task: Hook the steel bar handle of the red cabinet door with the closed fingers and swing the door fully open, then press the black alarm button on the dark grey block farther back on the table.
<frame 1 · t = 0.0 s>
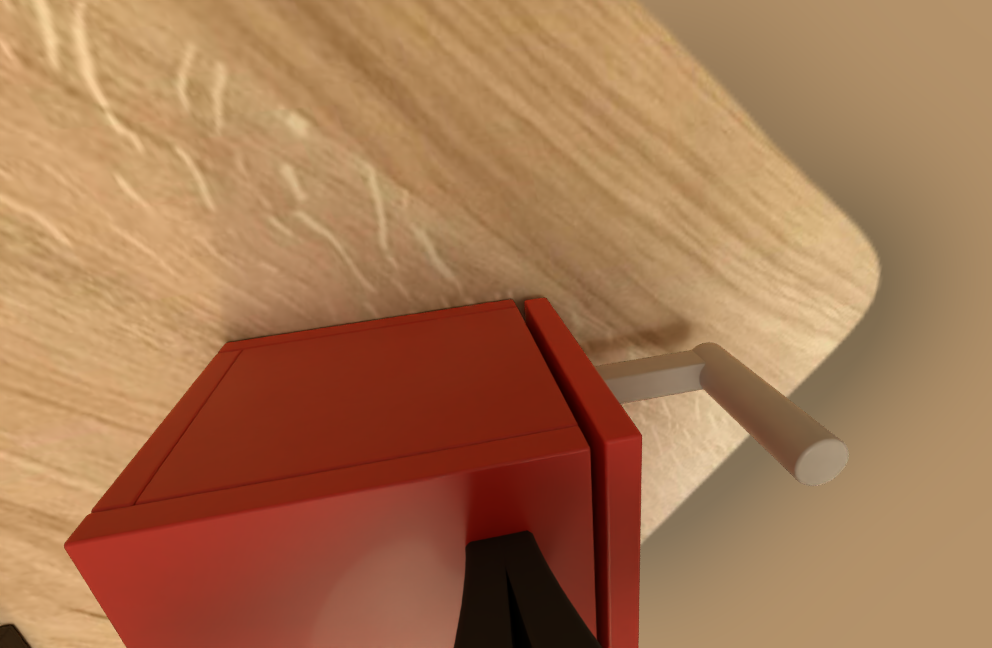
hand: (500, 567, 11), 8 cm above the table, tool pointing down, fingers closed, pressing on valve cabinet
red cabinet door: (661, 476, 16), point 4 cm above the table, hinge at 0.0°
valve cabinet: (399, 440, 19), on the table
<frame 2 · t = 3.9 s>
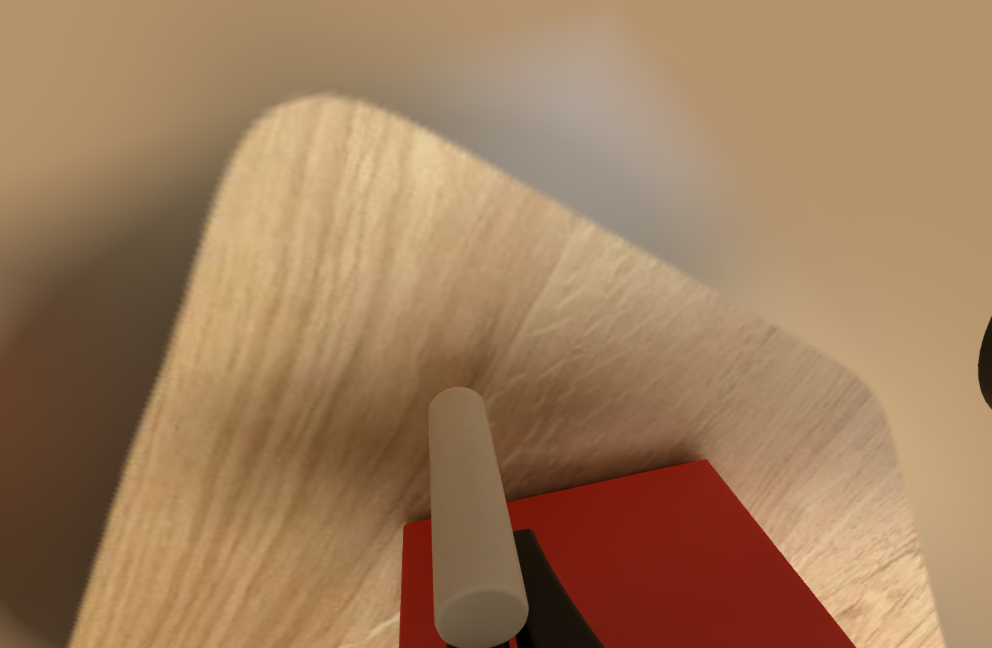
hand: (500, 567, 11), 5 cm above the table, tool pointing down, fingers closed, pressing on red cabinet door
red cabinet door: (591, 534, 11), point 4 cm above the table, hinge at 5.9°, touching gripper
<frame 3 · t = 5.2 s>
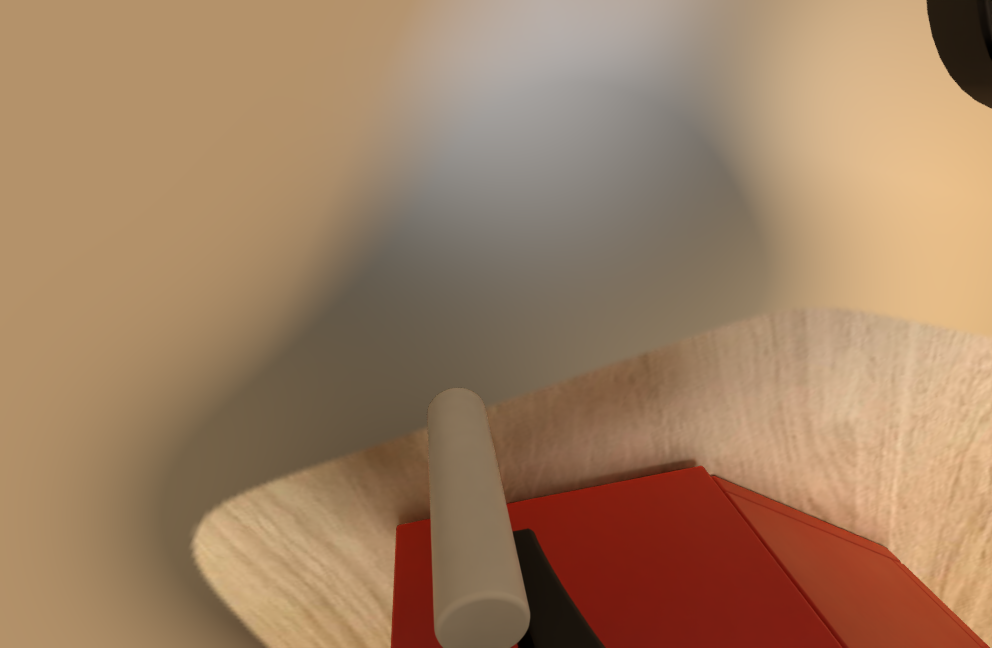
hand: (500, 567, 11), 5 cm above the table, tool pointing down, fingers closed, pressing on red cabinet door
red cabinet door: (589, 540, 11), point 4 cm above the table, hinge at 53.8°, touching gripper
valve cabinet: (721, 601, 20), on the table
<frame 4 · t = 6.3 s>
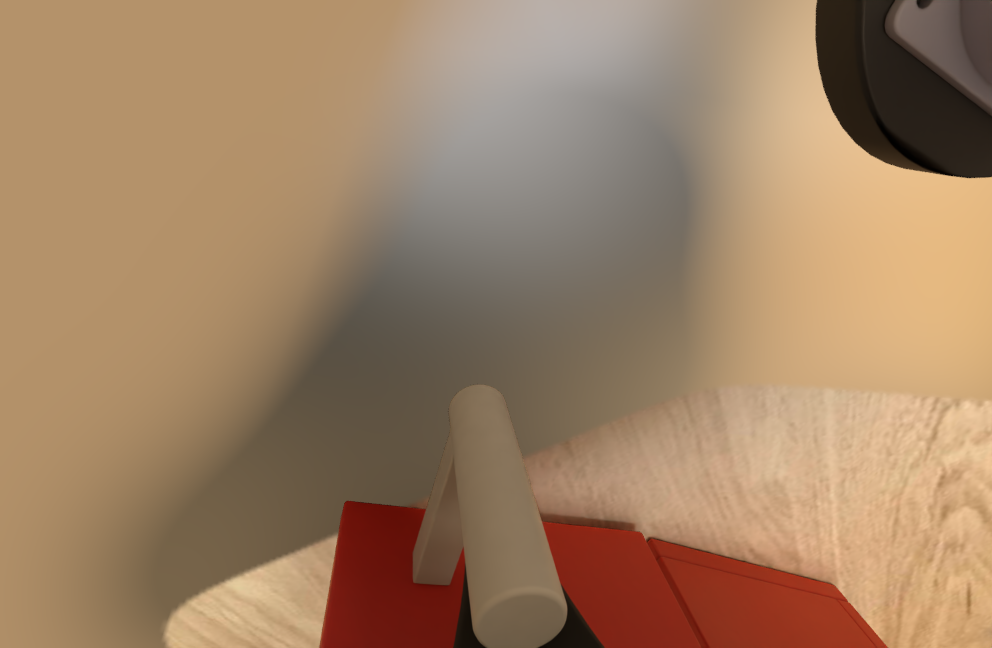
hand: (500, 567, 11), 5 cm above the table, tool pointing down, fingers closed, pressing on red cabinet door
red cabinet door: (563, 570, 12), point 4 cm above the table, hinge at 80.9°, touching gripper
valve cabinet: (679, 645, 21), on the table
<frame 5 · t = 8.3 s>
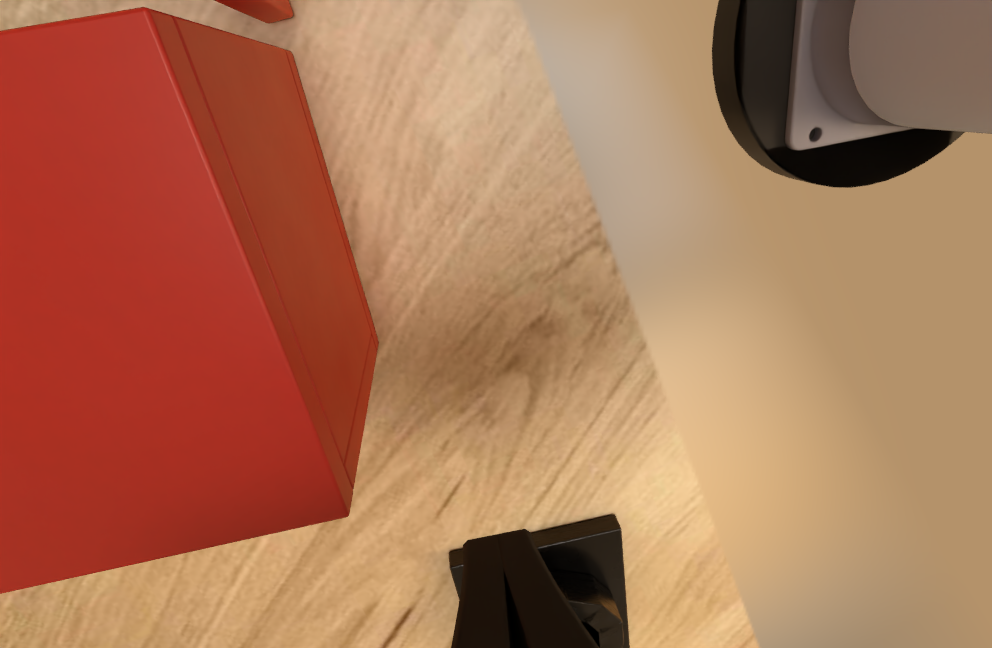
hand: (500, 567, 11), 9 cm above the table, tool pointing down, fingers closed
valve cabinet: (186, 245, 16), on the table
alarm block: (544, 601, 26), on the table
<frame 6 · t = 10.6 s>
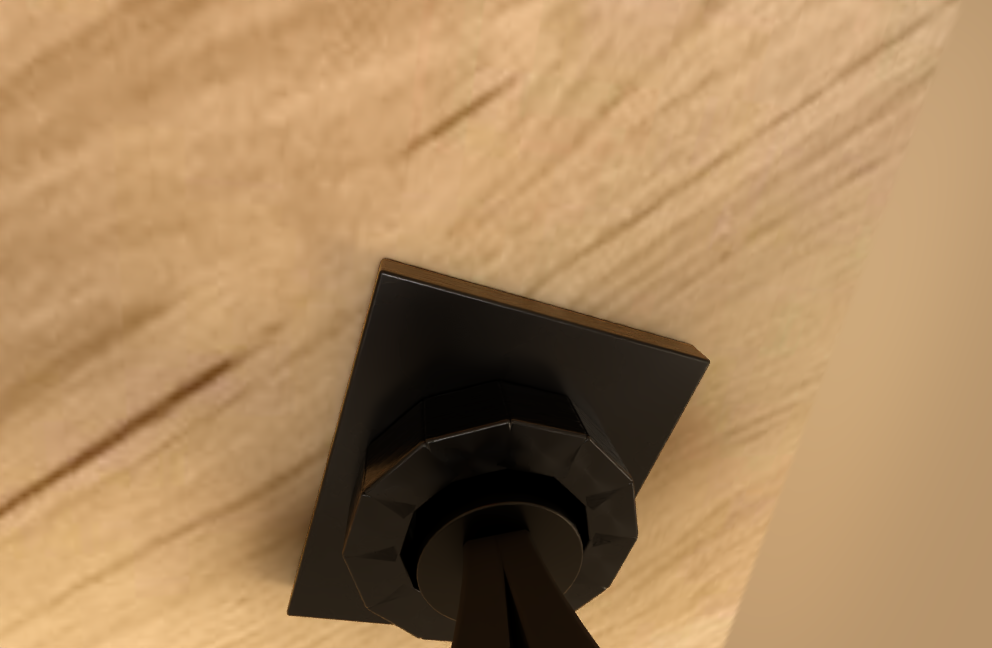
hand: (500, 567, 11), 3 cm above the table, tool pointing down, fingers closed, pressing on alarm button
alarm button: (495, 536, 11), point 2 cm above the table, slide at -0.7 cm, touching gripper
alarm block: (483, 471, 13), on the table
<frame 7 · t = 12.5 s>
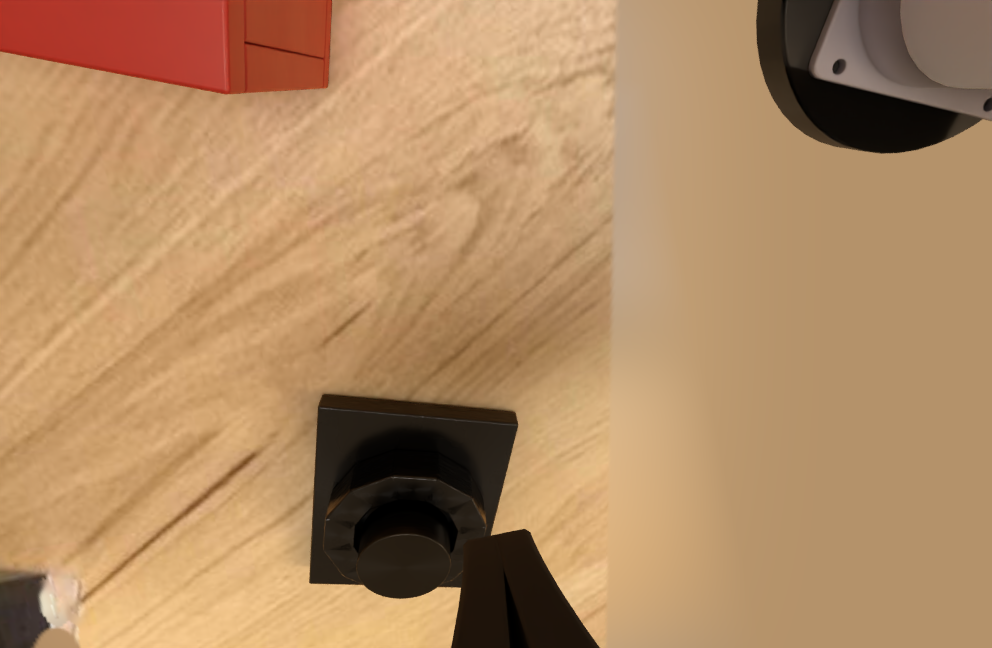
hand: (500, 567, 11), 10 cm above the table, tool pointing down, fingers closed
alarm button: (405, 549, 20), point 3 cm above the table, slide at 0.1 cm
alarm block: (408, 494, 23), on the table
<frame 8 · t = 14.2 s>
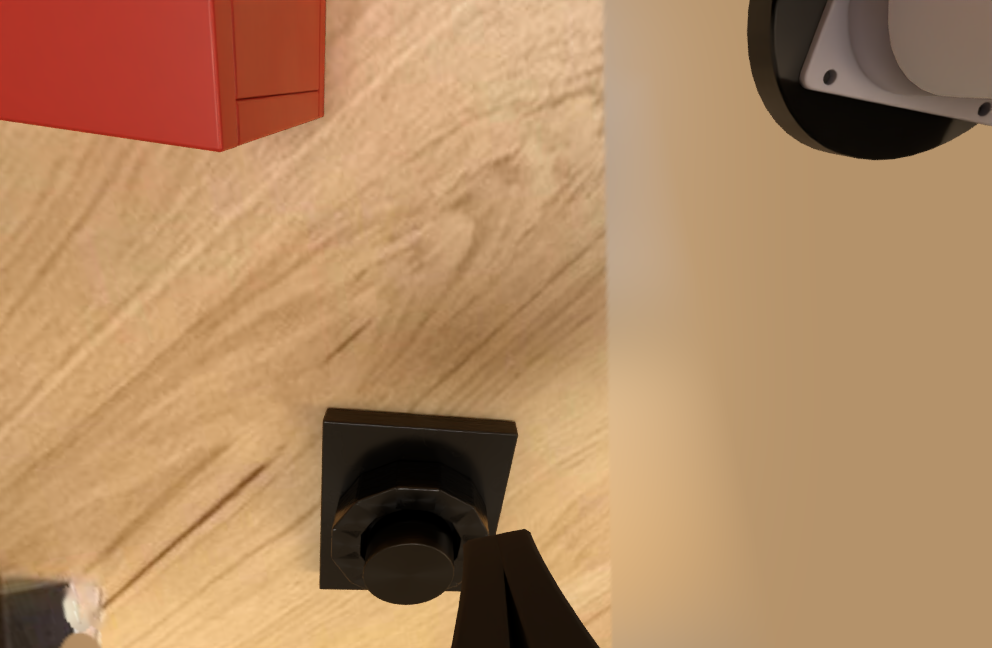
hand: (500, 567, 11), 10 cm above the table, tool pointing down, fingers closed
alarm button: (410, 557, 21), point 3 cm above the table, slide at 0.1 cm
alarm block: (413, 502, 23), on the table
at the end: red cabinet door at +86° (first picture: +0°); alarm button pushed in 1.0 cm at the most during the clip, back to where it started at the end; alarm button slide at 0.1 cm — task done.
